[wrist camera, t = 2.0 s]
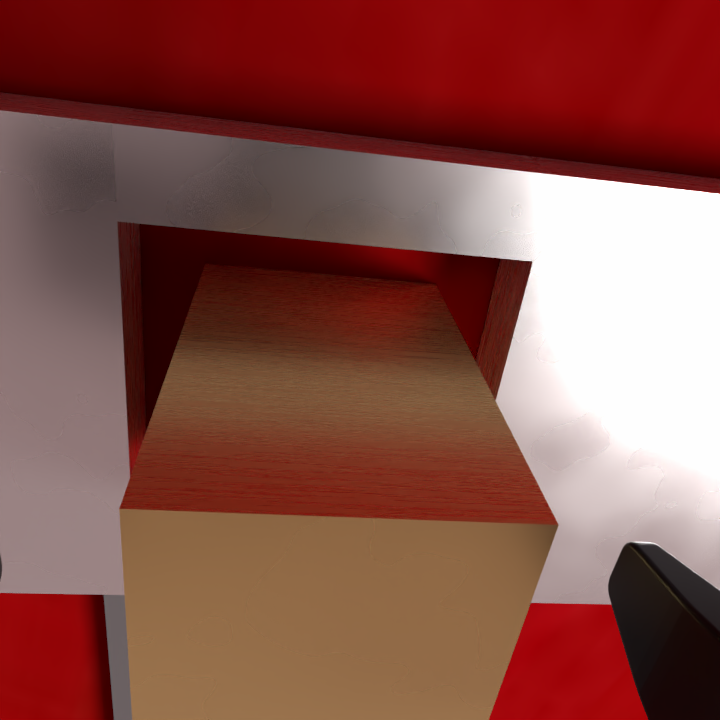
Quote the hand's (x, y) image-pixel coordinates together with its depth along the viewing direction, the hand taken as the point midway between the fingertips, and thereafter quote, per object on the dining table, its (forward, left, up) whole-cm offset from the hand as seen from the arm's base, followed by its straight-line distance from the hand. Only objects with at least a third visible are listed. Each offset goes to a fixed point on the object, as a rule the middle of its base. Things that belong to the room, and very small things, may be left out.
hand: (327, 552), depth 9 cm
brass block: (0, 0, -5) cm, 5 cm away
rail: (0, 0, -5) cm, 5 cm away
